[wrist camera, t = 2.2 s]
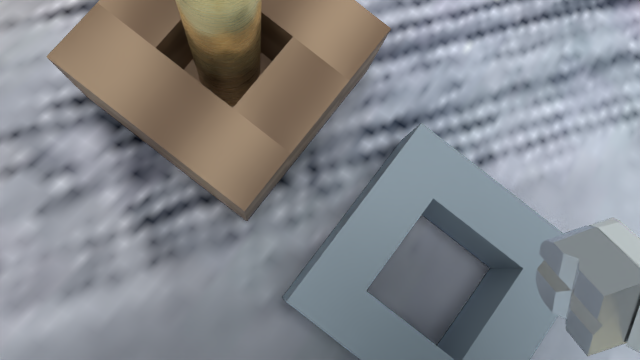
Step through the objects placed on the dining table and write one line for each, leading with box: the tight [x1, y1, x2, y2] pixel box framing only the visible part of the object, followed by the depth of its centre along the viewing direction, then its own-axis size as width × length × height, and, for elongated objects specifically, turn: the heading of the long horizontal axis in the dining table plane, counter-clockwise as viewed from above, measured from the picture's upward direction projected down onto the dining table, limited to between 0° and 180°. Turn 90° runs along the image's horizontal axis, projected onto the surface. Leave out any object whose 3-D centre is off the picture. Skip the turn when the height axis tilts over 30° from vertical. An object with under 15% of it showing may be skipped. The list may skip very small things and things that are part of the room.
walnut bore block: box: [47, 0, 391, 221], centre depth 29 cm, size 11×11×6 cm
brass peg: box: [175, 0, 261, 106], centre depth 23 cm, size 3×3×16 cm
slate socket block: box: [282, 123, 563, 360], centre depth 29 cm, size 11×11×4 cm
